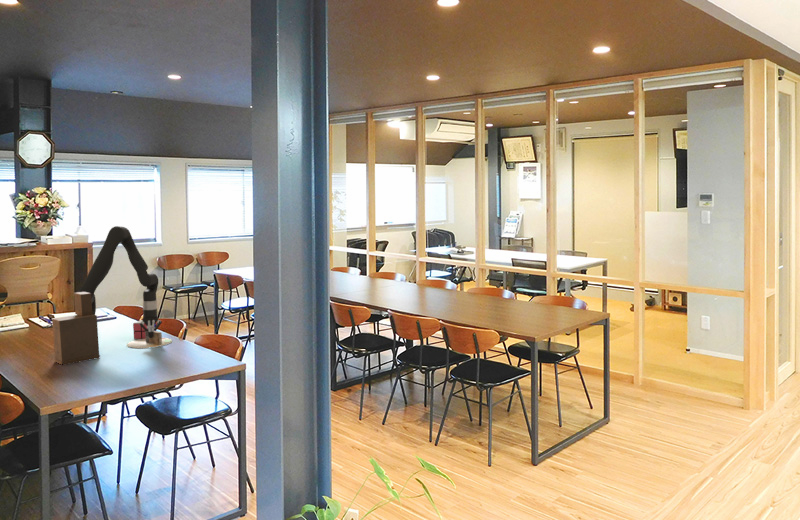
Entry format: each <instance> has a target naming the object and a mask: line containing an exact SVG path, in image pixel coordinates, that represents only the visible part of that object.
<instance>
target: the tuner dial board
mask: <svg viewBox="0 0 800 520" xmlns="http://www.w3.org/2000/svg"><path fill="white" fill-rule="evenodd" d="M172 342H173V340H172V339H171V338H168V337H162V345H160V344H154V343H149V342H148V343H147V342H146V339H134V340H132V341H129V342H128V343H126V347H127V346H128V348H129V347H132V348H131V349H150V348H149V347H154V348H158V346H160V347H163V345H164V346H167V345H166V344H168V345H170V344H171V343H172ZM169 343H170V344H169Z"/></svg>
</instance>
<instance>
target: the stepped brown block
mask: <svg viewBox="0 0 800 520" xmlns="http://www.w3.org/2000/svg"><path fill="white" fill-rule="evenodd" d="M73 299H74V300H73V301H74V314H75V315H68V316H60V317H55V318H54V317H53V318H52V319H51V320H52V323H51V324H52V334H53V336H52V337H53V349H54V362H55V363H56V362H57V364H58V363H59V364H58V365H60V364H61V366H63V365H62V364H66V365H69V364H68V363H71V364H74V363H73V362H76V363H80V362H79V361H81V362H85V361H84V360H87V361H90V360H89V359H92V360H95V359H94V358H97V359H100V358H99V357H101V355H100V350H99V349H100V348H99V345H100V343H99V332H98V331H99V329H98V317H97V316H98V315H96V314H95V315H93V314H92V300H91V293H88V292H78V291H77V292H73Z"/></svg>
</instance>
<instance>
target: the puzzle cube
mask: <svg viewBox="0 0 800 520" xmlns="http://www.w3.org/2000/svg"><path fill="white" fill-rule="evenodd" d="M142 320H143V319H141V320H137V321H136V322H133V324H132V327H133V340H139V339H146V336H145V330H144V329H143V328H142V327H141V326H140V325H139V323H140V322H142ZM156 324H157V323H156ZM156 324H155V325H154V327H155V326H156ZM144 326H145V328H146V329H147V325H146V324H145V323H144ZM154 331H157V330H154Z"/></svg>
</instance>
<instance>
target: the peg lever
mask: <svg viewBox="0 0 800 520" xmlns="http://www.w3.org/2000/svg"><path fill="white" fill-rule="evenodd" d="M145 336H146V342H147V343H148V342H149V343H154V344H160V345H162V338H163V336H162V331H157V330H156V331H154V336H153V338H149V337H148V331H145Z"/></svg>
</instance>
